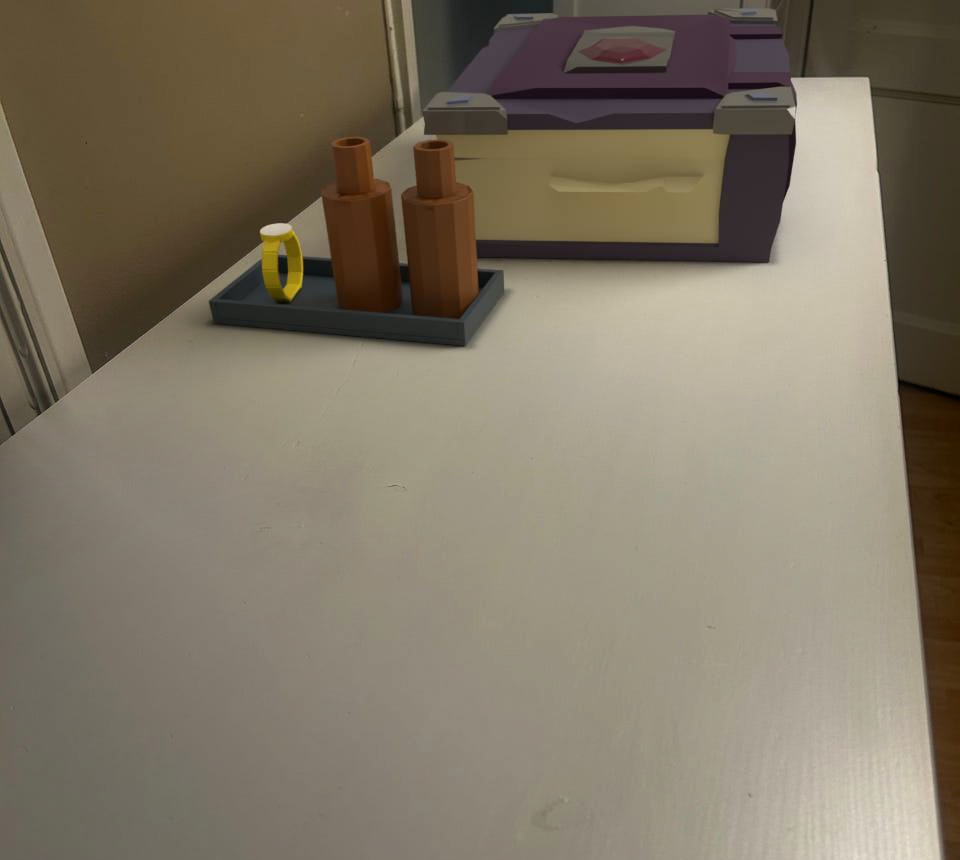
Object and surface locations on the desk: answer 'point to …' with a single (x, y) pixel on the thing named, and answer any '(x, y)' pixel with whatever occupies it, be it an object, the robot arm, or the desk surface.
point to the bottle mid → (361, 231)
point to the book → (625, 136)
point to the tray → (322, 314)
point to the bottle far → (439, 234)
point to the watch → (270, 261)
